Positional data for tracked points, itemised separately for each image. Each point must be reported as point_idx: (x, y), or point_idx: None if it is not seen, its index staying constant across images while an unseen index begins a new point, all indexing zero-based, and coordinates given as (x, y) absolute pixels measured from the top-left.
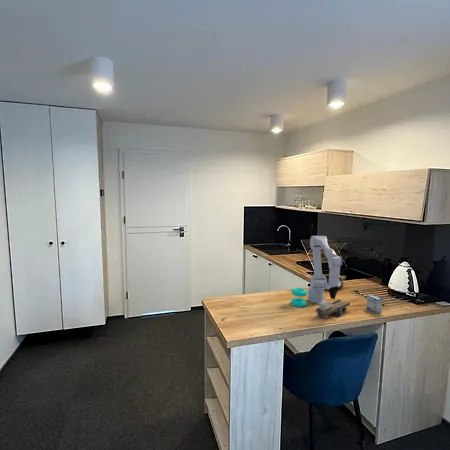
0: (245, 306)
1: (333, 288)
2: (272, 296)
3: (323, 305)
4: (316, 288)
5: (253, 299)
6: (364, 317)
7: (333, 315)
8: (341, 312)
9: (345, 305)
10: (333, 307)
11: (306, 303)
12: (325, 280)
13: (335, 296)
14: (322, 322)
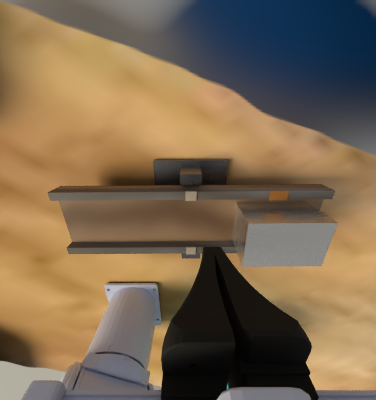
0: (363, 372)
1: (281, 364)
2: None
3: (328, 238)
4: (140, 377)
5: None
6: (86, 56)
7: (225, 184)
8: (182, 168)
9: (109, 189)
10: (197, 216)
11: None
12: None
13: (206, 257)
14: (340, 173)
